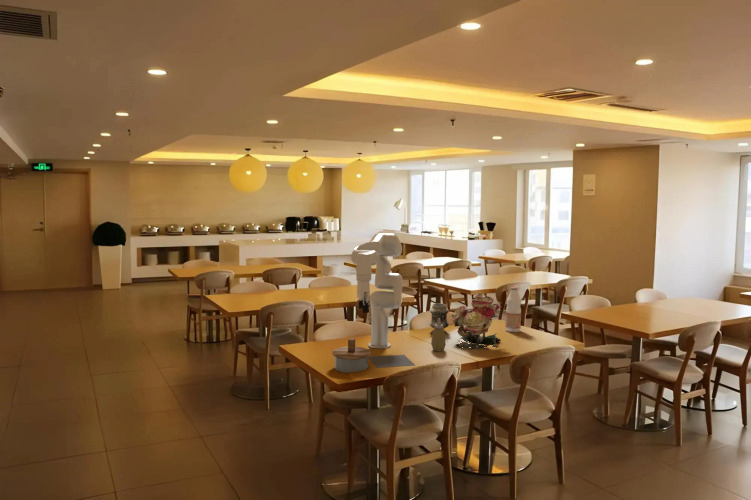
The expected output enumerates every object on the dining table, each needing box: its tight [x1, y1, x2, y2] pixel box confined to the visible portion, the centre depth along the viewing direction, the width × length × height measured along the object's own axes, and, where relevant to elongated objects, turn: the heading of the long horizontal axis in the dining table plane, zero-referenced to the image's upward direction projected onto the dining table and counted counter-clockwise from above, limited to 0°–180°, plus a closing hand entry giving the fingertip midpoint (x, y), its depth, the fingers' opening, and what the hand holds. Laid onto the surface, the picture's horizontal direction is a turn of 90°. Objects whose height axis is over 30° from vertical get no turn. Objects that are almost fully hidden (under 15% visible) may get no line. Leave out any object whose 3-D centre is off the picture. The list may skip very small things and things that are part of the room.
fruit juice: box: [505, 286, 522, 333], centre depth 366 cm, size 9×9×28 cm
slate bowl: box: [334, 357, 369, 374], centre depth 282 cm, size 16×16×7 cm
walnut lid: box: [332, 338, 372, 359], centre depth 281 cm, size 19×19×7 cm
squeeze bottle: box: [431, 318, 447, 352], centre depth 317 cm, size 8×8×18 cm
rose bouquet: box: [451, 292, 502, 350], centre depth 330 cm, size 26×29×30 cm
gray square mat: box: [368, 354, 416, 369], centre depth 293 cm, size 20×20×1 cm
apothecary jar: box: [429, 303, 450, 335], centre depth 359 cm, size 12×12×18 cm
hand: (363, 310), depth 289 cm, fingers open, 9 cm apart
